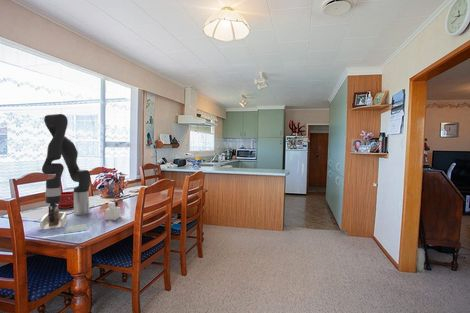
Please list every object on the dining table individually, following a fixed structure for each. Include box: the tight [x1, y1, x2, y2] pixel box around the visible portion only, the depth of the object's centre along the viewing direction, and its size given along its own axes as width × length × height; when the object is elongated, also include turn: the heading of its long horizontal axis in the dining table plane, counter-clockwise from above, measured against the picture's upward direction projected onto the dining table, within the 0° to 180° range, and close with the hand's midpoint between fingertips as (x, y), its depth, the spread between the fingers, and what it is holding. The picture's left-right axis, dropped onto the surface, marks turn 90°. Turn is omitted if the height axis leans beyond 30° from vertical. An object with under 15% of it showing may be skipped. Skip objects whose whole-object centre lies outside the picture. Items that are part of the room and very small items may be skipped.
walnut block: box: [49, 208, 60, 226], centre depth 144 cm, size 4×4×9 cm
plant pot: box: [58, 191, 74, 209], centre depth 186 cm, size 13×13×12 cm
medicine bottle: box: [104, 200, 121, 221], centre depth 161 cm, size 7×7×12 cm
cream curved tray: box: [39, 211, 68, 230], centre depth 145 cm, size 12×16×6 cm
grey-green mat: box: [65, 223, 88, 234], centre depth 139 cm, size 10×10×1 cm
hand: (53, 220), depth 144 cm, fingers open, 8 cm apart
